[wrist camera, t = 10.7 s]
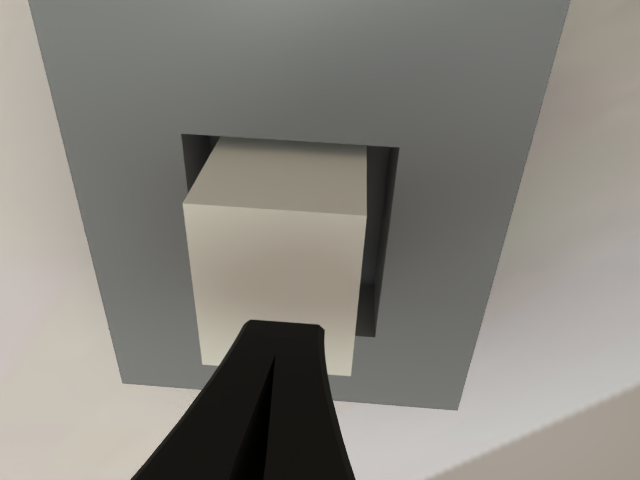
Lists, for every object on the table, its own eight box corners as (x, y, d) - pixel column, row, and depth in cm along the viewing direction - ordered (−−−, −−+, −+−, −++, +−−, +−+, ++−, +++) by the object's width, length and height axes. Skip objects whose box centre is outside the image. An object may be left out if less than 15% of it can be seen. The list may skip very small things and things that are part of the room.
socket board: (717, -801, 8) (875, -1107, 6) (446, 348, 21) (457, 410, 19) (-62, -799, 8) (-239, -1081, 6) (150, 326, 22) (122, 383, 19)
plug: (366, 120, 16) (367, 216, 12) (354, 256, 19) (350, 376, 14) (233, 112, 16) (182, 203, 12) (241, 248, 19) (202, 364, 14)
